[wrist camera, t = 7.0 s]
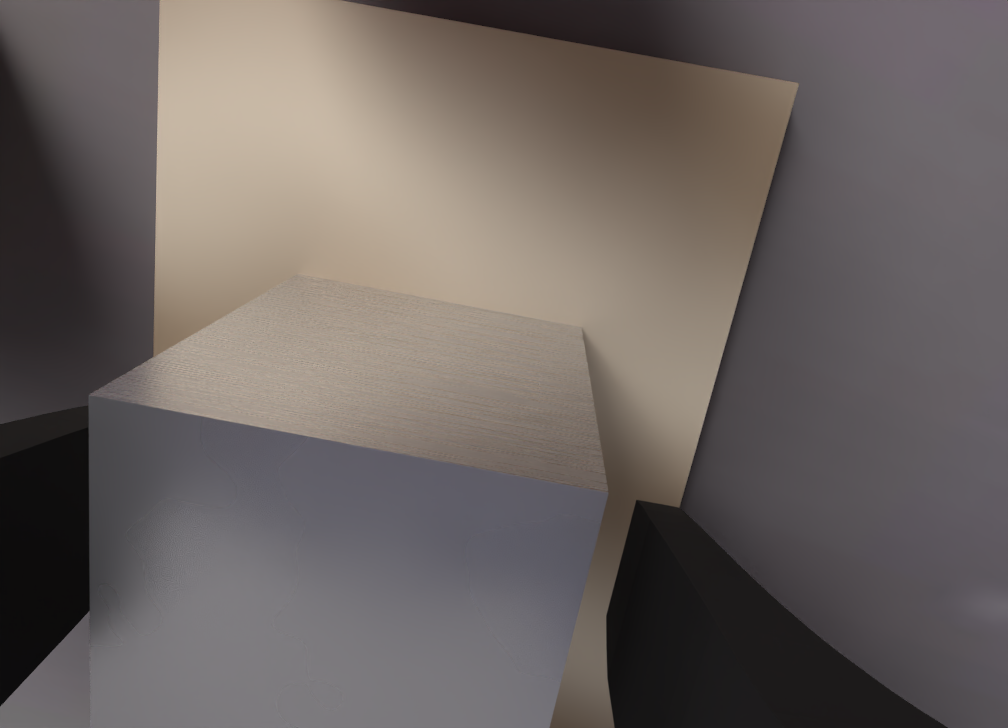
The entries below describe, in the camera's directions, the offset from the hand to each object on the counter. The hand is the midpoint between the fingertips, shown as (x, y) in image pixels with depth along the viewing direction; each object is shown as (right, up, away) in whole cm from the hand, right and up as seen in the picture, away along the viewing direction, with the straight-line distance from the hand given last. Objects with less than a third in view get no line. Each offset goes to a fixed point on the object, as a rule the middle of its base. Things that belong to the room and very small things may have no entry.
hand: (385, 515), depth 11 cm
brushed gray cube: (0, +1, +3) cm, 3 cm away
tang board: (0, +1, +3) cm, 4 cm away
